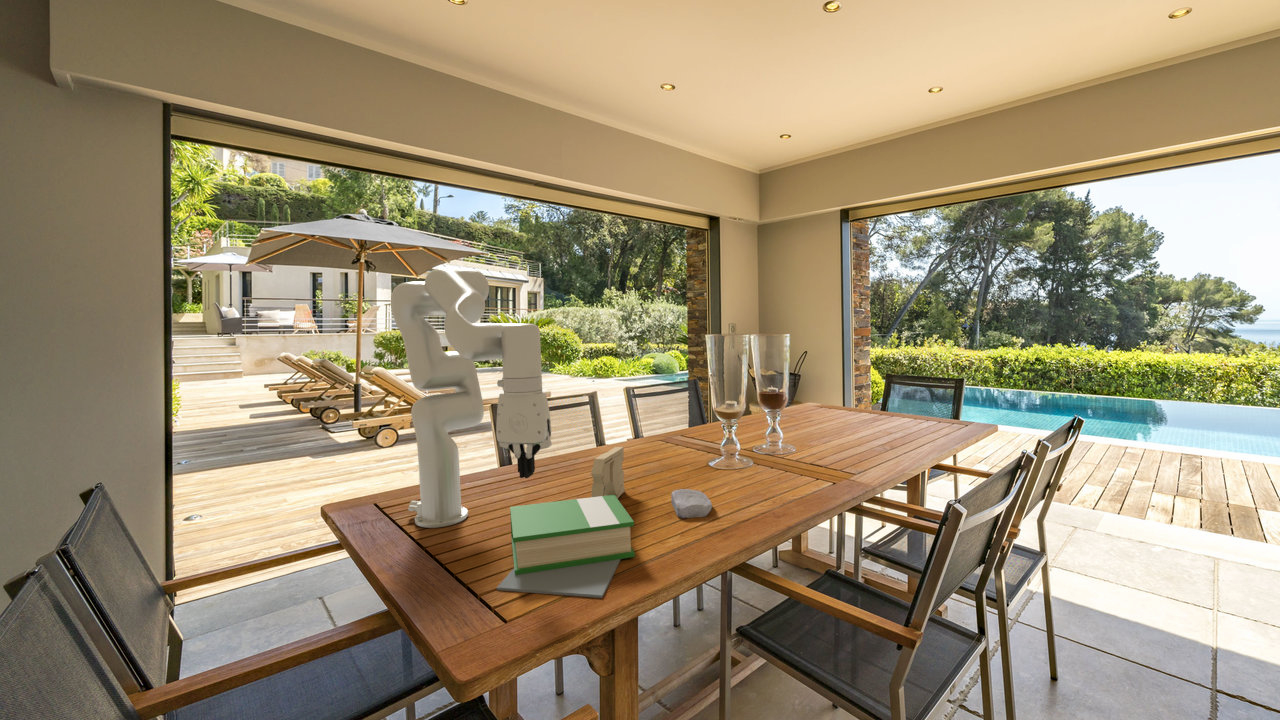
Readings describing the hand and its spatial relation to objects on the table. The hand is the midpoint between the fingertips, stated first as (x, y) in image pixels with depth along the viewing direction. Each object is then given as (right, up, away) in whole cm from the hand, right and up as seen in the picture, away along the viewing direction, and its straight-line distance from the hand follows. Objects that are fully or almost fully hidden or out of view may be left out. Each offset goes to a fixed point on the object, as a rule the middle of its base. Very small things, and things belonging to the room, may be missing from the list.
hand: (526, 475), depth 104 cm
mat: (+8, -18, 0) cm, 20 cm away
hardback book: (-4, -14, +3) cm, 15 cm away
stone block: (+37, -16, +29) cm, 49 cm away
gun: (+15, -16, +34) cm, 40 cm away
